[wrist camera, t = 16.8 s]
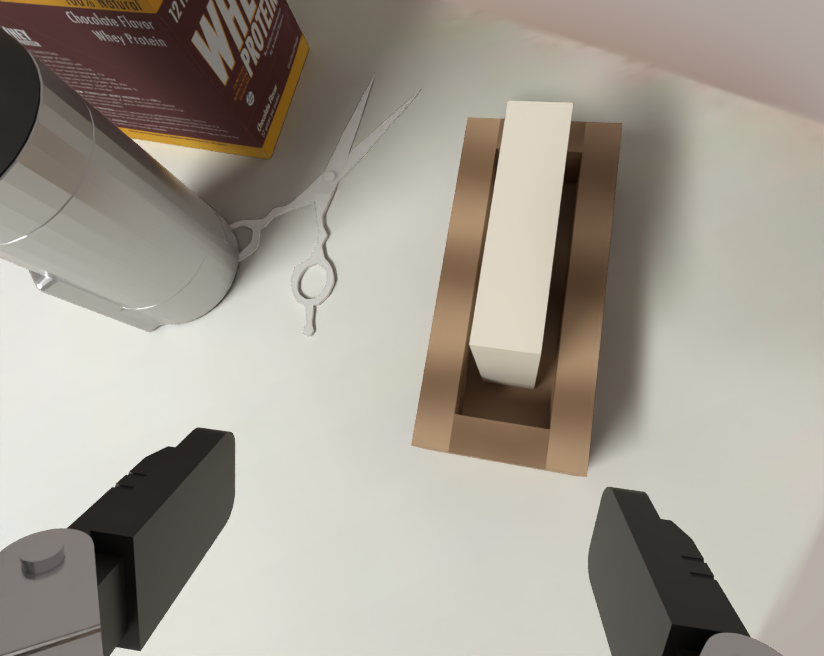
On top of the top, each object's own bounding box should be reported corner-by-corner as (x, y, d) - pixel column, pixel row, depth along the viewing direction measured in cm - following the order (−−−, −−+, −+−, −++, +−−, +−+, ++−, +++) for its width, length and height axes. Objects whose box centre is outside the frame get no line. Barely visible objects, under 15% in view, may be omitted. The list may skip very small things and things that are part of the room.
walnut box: (576, 475, 31) (586, 476, 27) (425, 449, 33) (411, 445, 29) (608, 167, 36) (622, 123, 31) (473, 160, 38) (467, 117, 33)
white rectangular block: (533, 389, 32) (540, 354, 22) (483, 381, 32) (469, 344, 23) (557, 204, 34) (573, 102, 25) (510, 200, 35) (507, 100, 26)
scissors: (196, 268, 39) (341, 52, 42) (201, 272, 40) (344, 59, 42) (309, 337, 36) (459, 100, 39) (313, 340, 37) (460, 107, 39)
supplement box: (273, 161, 41) (134, -14, 26) (108, 136, 45) (-95, -31, 30) (313, 47, 43) (207, -176, 28) (153, 31, 47) (-16, -173, 32)
